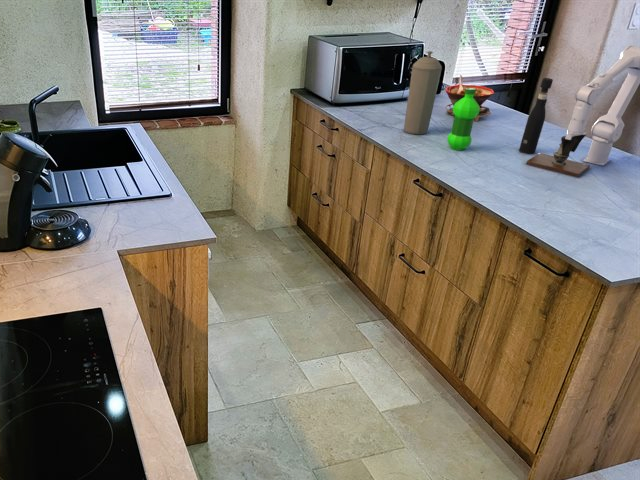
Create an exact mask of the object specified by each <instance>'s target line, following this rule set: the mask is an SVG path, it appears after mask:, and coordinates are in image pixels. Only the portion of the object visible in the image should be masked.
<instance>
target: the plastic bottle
mask: <svg viewBox="0 0 640 480" xmlns="http://www.w3.org/2000/svg"><path fill="white" fill-rule="evenodd" d="M475 92H476V89H475V88H465V92H464V93H465V97H464V98H462V99H460V100H459V101H458V102H456V103H455V104H454V106H453V105H452V108H453V113H454V115H455V117H454V116H453V121H452V126H451V131H450V133H449V134H448V136H447V143H448V145H449V147H450V148H451V149H452V150H454V151H463V150H465V149H467V148H468V147H470V145H471V143H472V140H473V139H472V135H471V133H472V130H473V126H474V122H475V121H474V118H476V116H478V113H479V110H480V108H479V105H478V104H477V102H476V101H475V100H474V99H473V95H474V94H475Z"/></svg>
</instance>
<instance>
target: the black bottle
mask: <svg viewBox="0 0 640 480" xmlns="http://www.w3.org/2000/svg"><path fill="white" fill-rule="evenodd" d="M553 81H554V79H553V78H549V77H544V78H542V79H541V83H540V86H539V87H540V88H541V89H540V92H539V94H538V96H537V97H536V101H535V105H534V106H533V107H532V109H531V111H530V112H529V115H528V117H527V120H526V123H525V127H524V131H523V134H522V138H521V141H520V145H519V148H518V151H519V152H520V153H522V154H524V155H534V154H535V153H536V151H537V147H538V143H539V140H540V137H541V133H542V130H543V127H544V124H545V120H546V105H547V101H548V92H549V90H550V89H551V88H552V85H553Z"/></svg>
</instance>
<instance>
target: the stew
mask: <svg viewBox="0 0 640 480" xmlns="http://www.w3.org/2000/svg"><path fill="white" fill-rule="evenodd" d="M458 81H459V84H453V85H449V86H447V87H445V89H444V91H445V92H446V94H447V96H448V99H449V100H450V102H451V103H449V104H446V105H445V107H444V108H445V110H447V115H449V116H451V117H453V118H454V117H455V115H454V113H453V106H454V104H455V103H456V102H458V101H459V100H460V99H462V98H464V97H465V93H464V92H465V88H475V89H476V92H475V94H474V95H473V99H474V100H475V101H476V102H477V104H478V105H479V108H480V110H479V113H478V116H476V117H475V118H474V122H479V119H480V118H483V117H488V116H490V115H491V114H492V111H491V110H490V107H488V106H484V105H483V104H484V103H485V102H487V100H488V99H489V98H491V96H493V95H494V94H495V90H494V89H492V88H489V87H486V86H482V85H475V84H463V75H461V74H460V75H459V79H458ZM451 106H452V108H451ZM447 107H449V109H448V108H447Z"/></svg>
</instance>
